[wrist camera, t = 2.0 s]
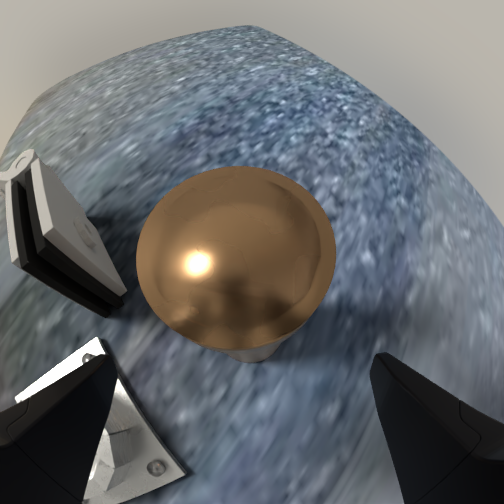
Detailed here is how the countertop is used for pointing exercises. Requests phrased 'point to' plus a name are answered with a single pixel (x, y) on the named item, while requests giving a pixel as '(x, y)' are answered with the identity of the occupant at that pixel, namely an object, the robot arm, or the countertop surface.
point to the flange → (119, 442)
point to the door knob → (236, 260)
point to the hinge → (56, 237)
